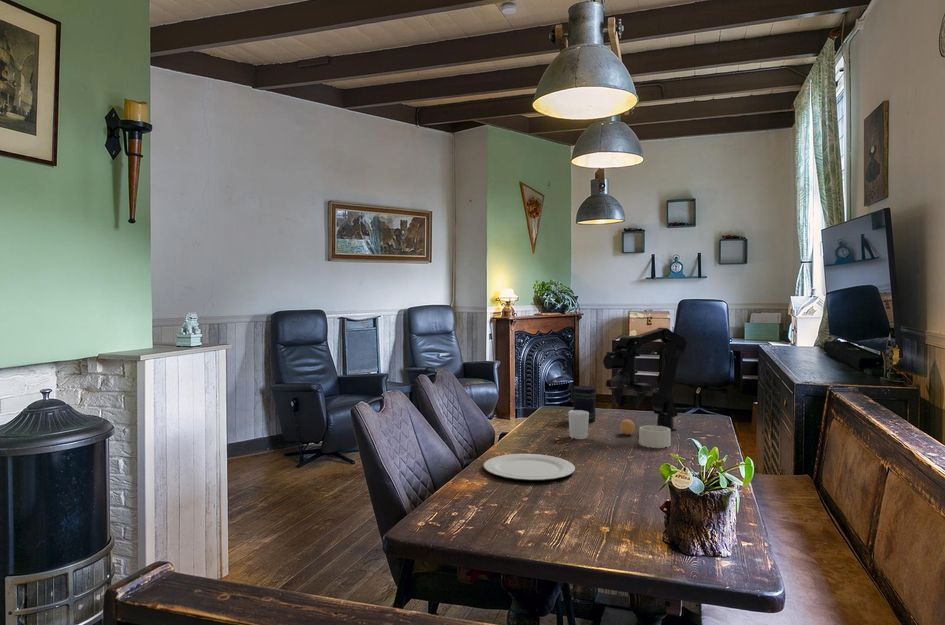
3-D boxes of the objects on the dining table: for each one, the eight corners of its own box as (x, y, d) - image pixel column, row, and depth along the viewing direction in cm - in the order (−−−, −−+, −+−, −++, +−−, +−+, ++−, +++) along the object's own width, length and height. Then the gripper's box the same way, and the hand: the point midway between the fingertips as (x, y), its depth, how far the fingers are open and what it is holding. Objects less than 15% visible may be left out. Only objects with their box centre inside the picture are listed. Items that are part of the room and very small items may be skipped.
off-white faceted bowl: (652, 439, 242) (652, 424, 242) (676, 445, 233) (676, 429, 233) (633, 443, 236) (633, 427, 236) (656, 449, 227) (657, 433, 226)
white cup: (587, 435, 249) (588, 410, 248) (589, 440, 241) (589, 414, 240) (567, 434, 249) (567, 409, 249) (568, 439, 241) (569, 413, 241)
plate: (582, 463, 208) (582, 458, 208) (565, 489, 181) (565, 483, 181) (498, 455, 218) (498, 450, 218) (470, 479, 190) (470, 473, 190)
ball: (626, 432, 255) (626, 417, 255) (637, 434, 250) (638, 420, 250) (616, 433, 251) (616, 419, 251) (627, 436, 246) (627, 421, 246)
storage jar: (597, 423, 271) (597, 389, 270) (574, 423, 271) (575, 389, 270) (593, 419, 281) (593, 385, 280) (571, 418, 281) (571, 385, 280)
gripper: (596, 366, 253) (596, 405, 253) (632, 371, 237) (632, 412, 238) (615, 365, 259) (615, 402, 260) (651, 369, 244) (651, 409, 244)
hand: (627, 406), depth 250 cm, fingers open, 9 cm apart
